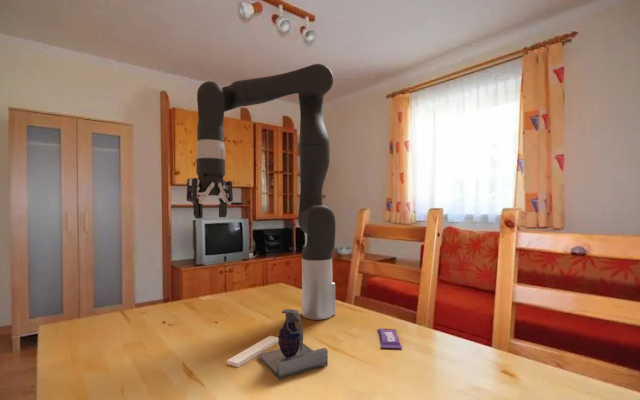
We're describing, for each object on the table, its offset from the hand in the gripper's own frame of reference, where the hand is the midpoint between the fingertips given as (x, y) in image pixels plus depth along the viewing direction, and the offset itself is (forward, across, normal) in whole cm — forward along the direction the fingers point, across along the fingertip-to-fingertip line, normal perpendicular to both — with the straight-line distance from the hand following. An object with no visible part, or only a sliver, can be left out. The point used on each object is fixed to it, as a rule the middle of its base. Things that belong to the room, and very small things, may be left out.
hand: (211, 217), depth 91 cm
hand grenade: (+30, -6, -30) cm, 42 cm away
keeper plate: (+30, -6, -30) cm, 43 cm away
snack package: (+31, +15, -45) cm, 56 cm away
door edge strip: (+30, -6, -20) cm, 36 cm away
